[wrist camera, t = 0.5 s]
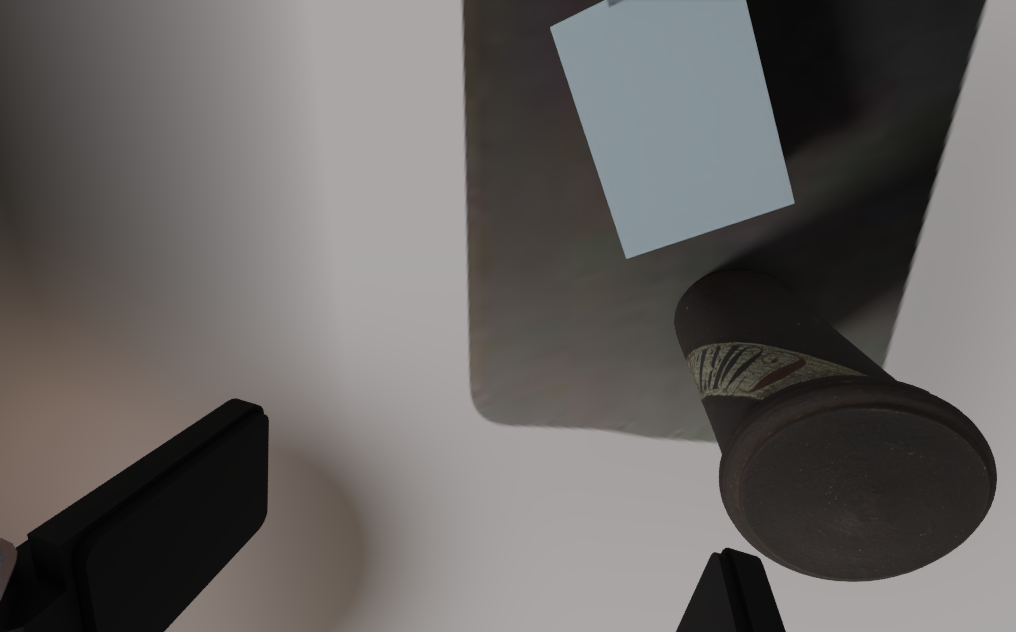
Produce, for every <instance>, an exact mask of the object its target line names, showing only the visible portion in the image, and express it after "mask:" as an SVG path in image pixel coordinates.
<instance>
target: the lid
mask: <svg viewBox="0 0 1016 632" xmlns="http://www.w3.org/2000/svg"><path fill="white" fill-rule="evenodd" d="M550 29H551V32H552V35H553V38H554V41H555V44H556V47H557V50H558V53H559V56H560V59H561V62H562V65H563V68H564V71H565V74H566V77H567V80H568V83H569V86H570V89H571V92H572V96H573V99H574V102H575V105H576V108H577V111H578V114H579V117H580V120H581V123H582V126H583V129H584V132H585V135H586V138H587V141H588V144H589V147H590V150H591V153H592V156H593V159H594V162H595V165H596V168H597V171H598V174H599V177H600V180H601V183H602V186H603V189H604V193H605V196H606V199H607V202H608V205H609V208H610V211H611V214H612V217H613V220H614V223H615V226H616V229H617V232H618V235H619V238H620V241H621V244H622V247H623V250H624V253H625V256H626V259H627V258H631V257H634V256H637V255H640V254H643V253H646V252H649V251H652V250H655V249H658V248H661V247H664V246H667V245H670V244H673V243H676V242H679V241H682V240H685V239H688V238H691V237H694V236H697V235H700V234H703V233H706V232H709V231H712V230H715V229H718V228H721V227H725V226H728V225H731V224H734V223H737V222H740V221H743V220H746V219H749V218H752V217H755V216H758V215H761V214H764V213H767V212H770V211H773V210H776V209H779V208H782V207H785V206H788V205H791V204H794V199H793V195H792V190H791V186H790V182H789V178H788V174H787V170H786V165H785V161H784V157H783V153H782V149H781V145H780V140H779V136H778V132H777V128H776V124H775V119H774V115H773V111H772V107H771V103H770V99H769V94H768V90H767V86H766V82H765V78H764V74H763V69H762V65H761V61H760V57H759V53H758V49H757V44H756V40H755V36H754V32H753V28H752V24H751V19H750V15H749V11H748V7H747V3H746V0H604V1H602V2H600V3H598V4H596V5H594V6H592V7H590V8H588V9H586V10H584V11H582V12H580V13H578V14H576V15H574V16H572V17H570V18H568V19H566V20H564V21H562V22H560V23H558V24H556V25H554V26H552V27H550Z"/></svg>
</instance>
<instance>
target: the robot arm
mask: <svg viewBox="0 0 1016 632" xmlns="http://www.w3.org/2000/svg"><path fill="white" fill-rule="evenodd" d="M268 430H269V420H268V417H267V415H265V414H264V411H263V408H262V407H261V406H259V405H256V404H253V403H250V402H246V401H243V400H240V399H231V400H229V401H227V402H226V403H224V404H223V405H221V406H220V407H218V408H217V409H215V410H214V411H212V412H211V413H209V414H208V415H206V416H205V417H203V418H202V419H200V420H199V421H197V422H196V423H194V424H193V425H191V426H190V427H188V428H187V429H185V430H184V431H182V432H181V433H179V434H177V435H176V436H174V437H173V438H172V439H170V440H168V441H167V442H166V443H164V444H162V445H161V446H160V447H158V448H156V449H155V450H154V451H152V452H150V453H149V454H147V455H146V456H144V457H143V458H141V459H140V460H139V461H137V462H135V463H134V464H132V465H131V466H129V467H128V468H126V469H125V470H123V471H122V472H120V473H119V474H117V475H116V476H114V477H113V478H111V479H110V480H108V481H107V482H105V483H104V484H102V485H101V486H99V487H98V488H96V489H95V490H93V491H92V492H90V493H89V494H87V495H86V496H84V497H83V498H81V499H80V500H78V501H77V502H75V503H74V504H72V505H71V506H69V507H68V508H66V509H65V510H63V511H61V512H60V513H58V514H57V515H55V516H54V517H53V518H51V519H49V520H48V521H46V522H45V523H43V524H42V525H40V526H39V527H37V528H36V529H34V530H33V531H32V532H30V533H28V534H27V536H28V540H27V541H25V542H24V543H22V544H21V545H19V546H18V547H16V548H15V547H14V545H13V544H12V543H10V542H8V541H6V540H4V539H2V538H0V632H164V631H165V630H166V629H167V628H168V627H169V625H170V624H172V623H173V621H174V620H175V619H176V618H177V617H178V616H179V615H180V614H181V613H182V612H183V611H184V610H185V609H186V607H187V606H188V605H189V604H190V603H191V602H192V601H193V600H194V599H195V598H196V597H197V595H199V593H200V592H201V591H202V590H203V589H204V588H205V587H206V586H207V585H208V584H209V583H210V582H211V580H212V579H213V578H214V577H215V576H216V575H217V574H218V573H219V572H220V571H221V570H222V568H224V567H225V565H226V564H227V563H228V562H229V561H230V560H231V559H232V558H233V557H234V556H235V554H236V553H237V552H238V551H239V550H240V549H241V548H242V547H243V546H244V545H245V544H246V543H247V542H248V541H249V540H250V539H251V537H252V536H253V535H254V534H255V533H256V532H257V531H258V530H259V529H260V527H261V526H262V524H263V522H264V520H265V518H266V515H267V501H268V500H267V498H268V436H269V435H268V434H269V432H268ZM676 632H786V631H785V628H784V625H783V622H782V620H781V617H780V614H779V611H778V608H777V605H776V602H775V599H774V596H773V593H772V590H771V587H770V584H769V581H768V579H767V575H766V572H765V569H764V566H763V564H762V562H761V560H760V558H758V557H757V556H753V555H750V554H747V553H744V552H740V551H737V550H734V549H731V548H725V549H724V550H723V551H722V553H721V554H719V553H716V552H714V553H713V554H712V555H711V557H710V559H709V561H708V563H707V565H706V567H705V569H704V572H703V574H702V576H701V578H700V581H699V583H698V585H697V587H696V589H695V591H694V593H693V596H692V598H691V600H690V602H689V604H688V607H687V609H686V611H685V613H684V615H683V617H682V620H681V622H680V624H679V626H678V628H677V631H676Z"/></svg>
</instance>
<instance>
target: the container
mask: <svg viewBox="0 0 1016 632" xmlns="http://www.w3.org/2000/svg"><path fill="white" fill-rule="evenodd" d="M674 324H675V329H676V334H677V337H678V340H679V343H680V346H681V348H682V351H683V354H684V356H685V359H686V361H687V364H688V367H689V369H690V372H691V374H692V377H693V379H694V382H695V385H696V387H697V389H698V392H699V395H700V398H701V401H702V403H703V405H704V408H705V411H706V413H707V415H708V418H709V421H710V423H711V425H712V428H713V431H714V433H715V436H716V439H717V442H718V444H719V447H720V450H721V453H722V457H721V461H720V468H719V486H720V493H721V497H722V501H723V504H724V506H725V509H726V511H727V513H728V515H729V517H730V519H731V520H732V522H733V523H734V524H735V527H736V528H737V529H738V531H739V532H740V533H741V535H742V536H743V537H744V538H745V539H746V540H747V541H748V542H749V543H750V544H751V545H752V546H753V547H754V548H755V549H757V550H758V551H759V552H761V553H762V554H763V555H765V556H766V557H768V558H769V559H771V560H773V561H775V562H776V563H778V564H780V565H782V566H784V567H786V568H789V569H791V570H794V571H796V572H799V573H801V574H805V575H808V576H812V577H816V578H821V579H826V580H834V581H850V582H851V581H852V582H854V581H855V582H857V581H873V580H880V579H886V578H890V577H895V576H899V575H902V574H906V573H909V572H912V571H914V570H917V569H919V568H922V567H924V566H926V565H928V564H930V563H932V562H934V561H936V560H938V559H939V558H941V557H943V556H945V555H946V554H948V553H950V552H951V551H952V550H954V549H955V548H957V547H958V546H959V545H961V544H962V543H963V542H964V541H965V540H966V539H967V538H968V537H969V536H970V535H971V534H972V533H973V532H974V531H975V530H976V528H977V527H978V526H979V525H980V523H981V522H982V521H983V519H984V518H985V516H986V514H987V513H988V511H989V509H990V507H991V504H992V502H993V499H994V496H995V491H996V482H997V473H996V465H995V460H994V457H993V454H992V452H991V449H990V447H989V445H988V443H987V441H986V439H985V438H984V436H983V435H982V433H981V432H980V430H979V429H978V428H977V427H976V426H975V424H974V423H973V422H972V421H971V420H970V419H969V418H968V417H967V416H966V415H964V414H963V413H962V412H961V411H960V410H959V409H957V408H956V407H954V406H953V405H951V404H950V403H948V402H946V401H944V400H942V399H941V398H939V397H937V396H935V395H932V394H930V393H929V392H928V391H926V390H923V389H921V388H918V387H915V386H913V385H910V384H906V383H903V382H899V381H897V380H895V379H894V378H893V377H892V376H890V375H889V374H888V373H886V372H885V371H884V370H883V369H882V368H881V367H880V366H878V365H877V364H876V363H875V362H873V361H872V360H871V359H870V358H869V357H868V356H866V355H865V354H864V353H862V352H861V351H860V350H859V349H858V348H857V347H856V346H854V345H853V344H852V343H851V342H850V341H848V340H847V339H846V338H845V337H843V336H842V335H841V334H840V333H839V332H838V331H836V330H835V329H834V328H833V327H832V326H830V325H829V324H828V323H827V322H826V321H825V320H824V319H822V318H821V317H820V316H819V315H818V314H817V313H816V312H814V311H813V310H812V309H811V308H810V307H809V306H808V305H806V304H805V303H804V302H803V301H802V300H801V299H800V298H799V297H798V296H797V295H795V294H794V293H793V292H792V291H791V290H790V289H788V288H787V287H786V286H785V285H783V284H782V283H781V282H779V281H778V280H776V279H774V278H773V277H771V276H768V275H766V274H763V273H760V272H756V271H751V270H741V269H735V270H726V271H721V272H718V273H715V274H712V275H709V276H707V277H705V278H703V279H701V280H700V281H698V282H697V283H695V284H694V285H693V286H691V287H690V288H689V289H688V290H687V291H686V292H685V294H684V295H683V296H682V298H681V299H680V301H679V303H678V305H677V308H676V312H675V321H674Z"/></svg>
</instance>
